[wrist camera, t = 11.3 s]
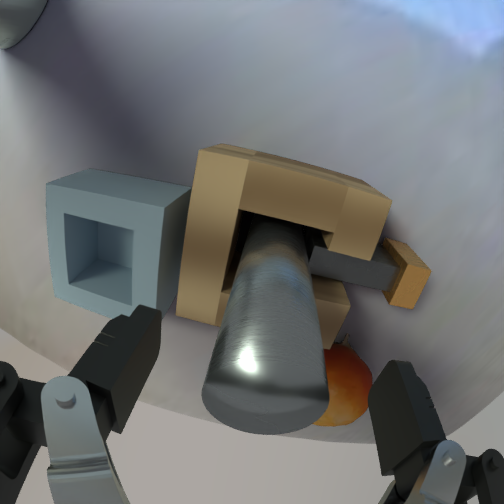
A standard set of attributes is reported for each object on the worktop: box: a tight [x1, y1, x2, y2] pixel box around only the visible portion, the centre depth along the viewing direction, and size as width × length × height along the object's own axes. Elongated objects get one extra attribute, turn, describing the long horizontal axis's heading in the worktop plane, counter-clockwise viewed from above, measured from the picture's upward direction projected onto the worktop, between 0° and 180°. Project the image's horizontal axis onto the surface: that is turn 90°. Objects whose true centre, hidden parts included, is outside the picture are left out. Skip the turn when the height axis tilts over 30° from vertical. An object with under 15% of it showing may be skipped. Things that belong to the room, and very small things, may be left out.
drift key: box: [304, 226, 431, 309], centre depth 19 cm, size 3×8×5 cm, turn 77°
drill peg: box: [202, 213, 330, 435], centre depth 14 cm, size 4×4×15 cm
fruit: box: [313, 333, 372, 427], centre depth 23 cm, size 8×8×8 cm
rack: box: [46, 169, 192, 319], centre depth 20 cm, size 9×9×6 cm
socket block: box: [176, 144, 392, 349], centre depth 18 cm, size 10×10×6 cm
